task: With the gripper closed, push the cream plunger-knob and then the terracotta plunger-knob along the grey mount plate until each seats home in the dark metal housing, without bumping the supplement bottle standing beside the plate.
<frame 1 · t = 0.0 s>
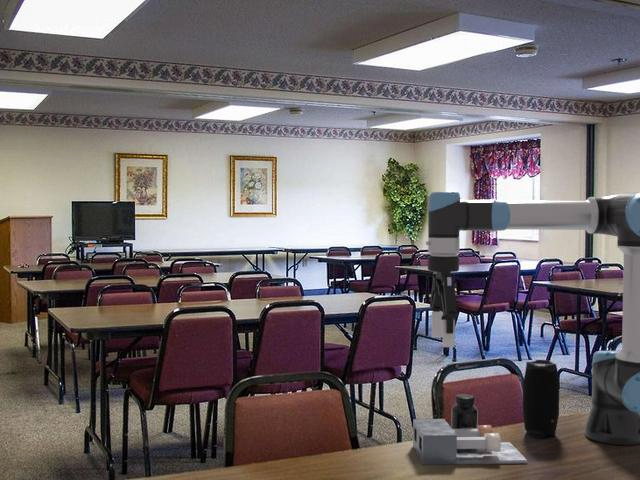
hand: (442, 342, 186), 28 cm above the table, fingers open, 13 cm apart
mount: (433, 455, 188), on the table
supplement bottle: (464, 442, 199), on the table
portable speaker: (540, 435, 205), on the table
knob terracotta: (464, 434, 191), point 4 cm above the table, slide at 0.0 cm
knob cream: (471, 442, 184), point 4 cm above the table, slide at 0.0 cm
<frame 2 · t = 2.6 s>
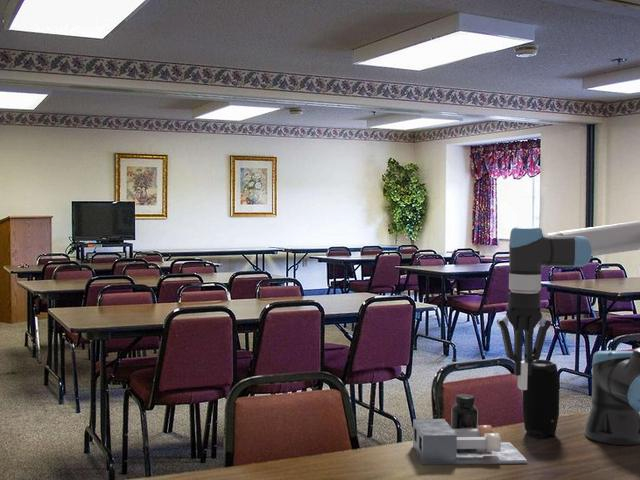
hand: (522, 388, 184), 17 cm above the table, fingers closed
nothing on the table moved.
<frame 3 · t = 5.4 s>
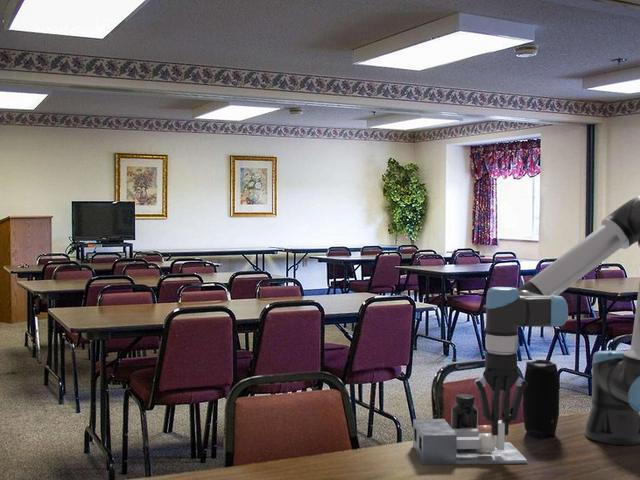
hand: (499, 448, 185), 3 cm above the table, fingers closed
knob cream: (465, 442, 184), point 4 cm above the table, slide at 1.4 cm, touching gripper
everything else where it was.
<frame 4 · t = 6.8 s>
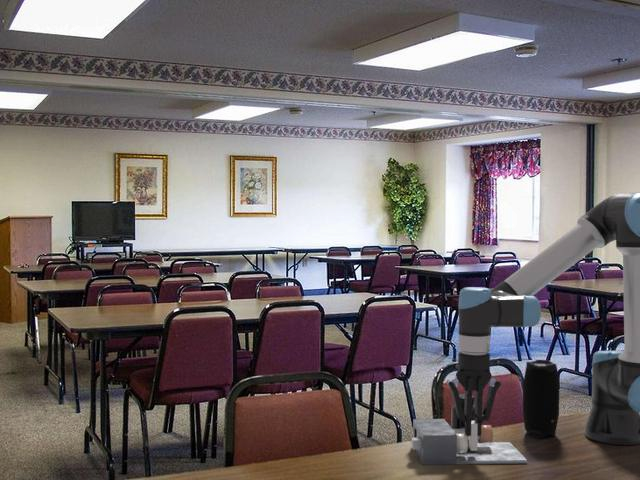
hand: (472, 448, 184), 3 cm above the table, fingers closed
knob cream: (438, 443, 184), point 4 cm above the table, slide at 8.0 cm, touching gripper, mount
everything else where it was.
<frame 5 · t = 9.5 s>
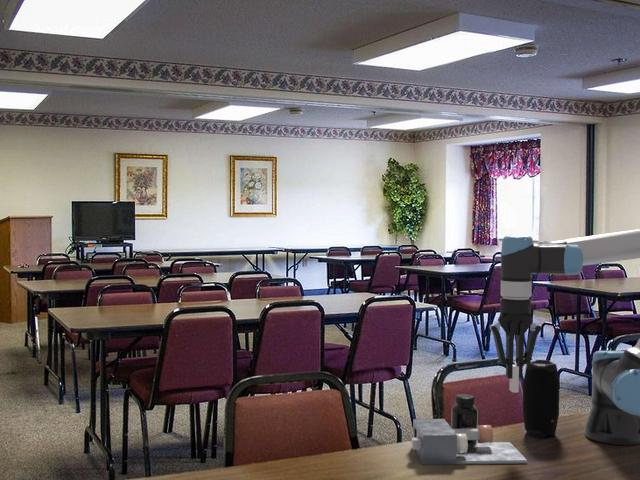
hand: (513, 391, 191), 15 cm above the table, fingers closed
knob cream: (438, 443, 184), point 4 cm above the table, slide at 8.0 cm, touching mount
everything else where it was.
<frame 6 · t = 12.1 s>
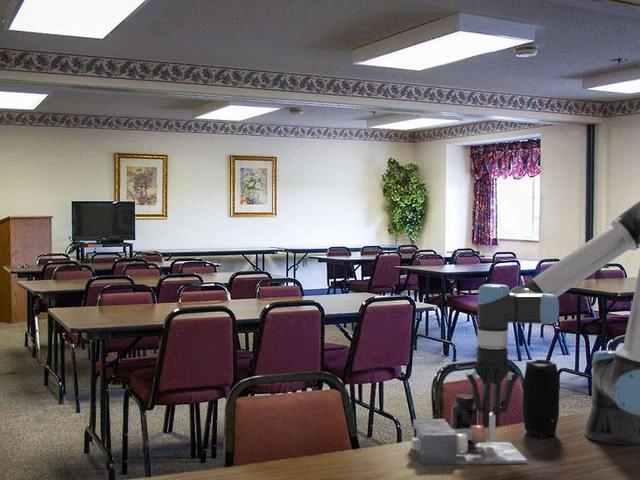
hand: (490, 439, 192), 3 cm above the table, fingers closed
knob terracotta: (458, 434, 191), point 4 cm above the table, slide at 1.7 cm, touching gripper
everything else where it was.
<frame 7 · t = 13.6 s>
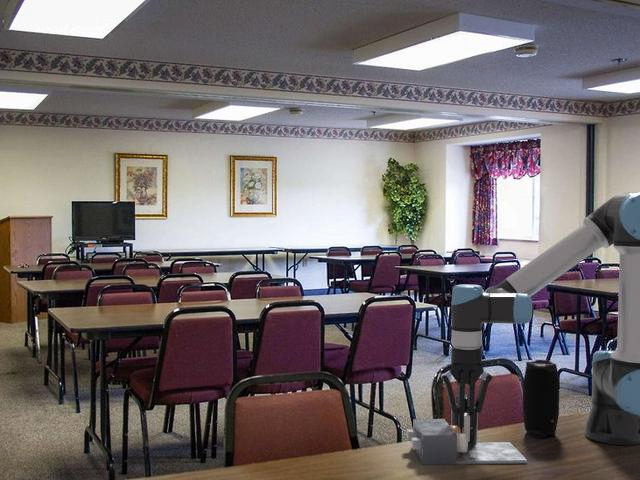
hand: (465, 440, 191), 3 cm above the table, fingers closed
knob terracotta: (433, 434, 191), point 4 cm above the table, slide at 8.0 cm, touching gripper, mount
everything else where it was.
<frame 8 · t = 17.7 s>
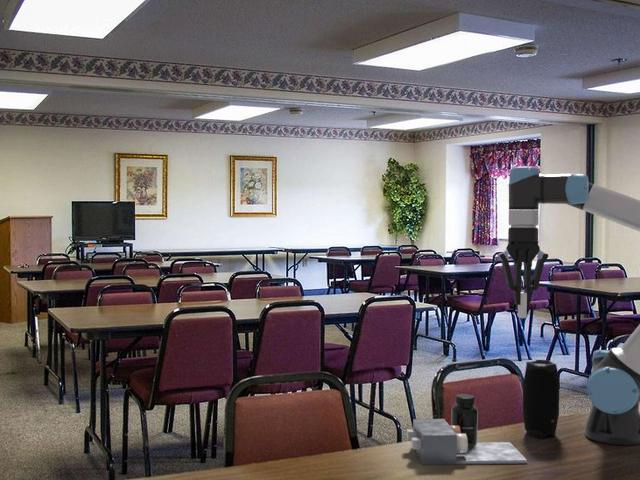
hand: (522, 317, 198), 32 cm above the table, fingers closed
knob terracotta: (433, 434, 191), point 4 cm above the table, slide at 8.0 cm, touching mount
everything else where it was.
at the end: knob cream slide at 8.0 cm; knob terracotta slide at 8.0 cm; supplement bottle moved 0.2 cm from its start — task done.
